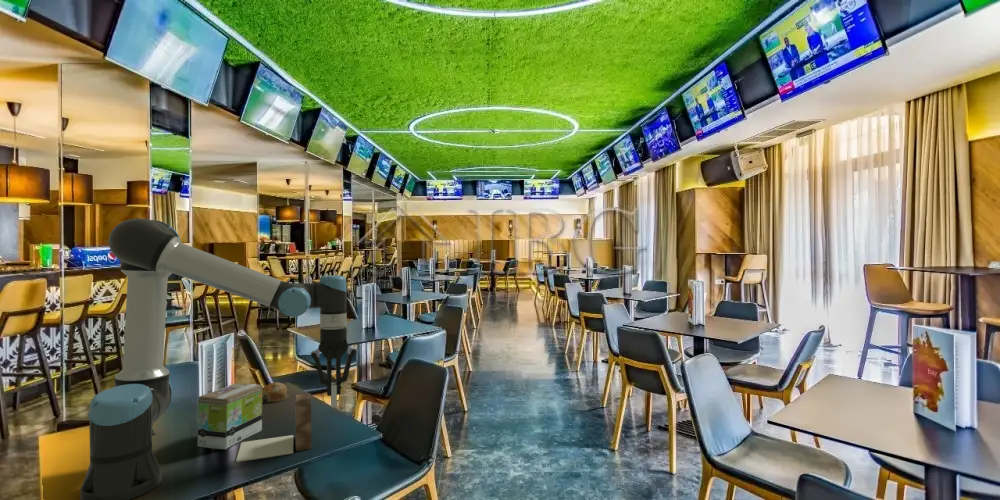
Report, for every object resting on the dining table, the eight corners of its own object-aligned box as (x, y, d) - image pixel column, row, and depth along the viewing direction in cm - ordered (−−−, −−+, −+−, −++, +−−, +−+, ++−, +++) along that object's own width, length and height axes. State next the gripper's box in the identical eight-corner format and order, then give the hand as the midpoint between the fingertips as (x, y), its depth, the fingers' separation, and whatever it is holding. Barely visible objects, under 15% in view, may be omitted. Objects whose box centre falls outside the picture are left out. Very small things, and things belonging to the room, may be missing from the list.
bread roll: (285, 411, 179) (294, 390, 180) (257, 403, 174) (267, 382, 175) (281, 403, 187) (290, 383, 189) (254, 396, 182) (264, 375, 184)
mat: (235, 462, 128) (235, 460, 128) (241, 443, 140) (241, 442, 140) (293, 453, 134) (293, 452, 134) (293, 436, 146) (293, 434, 146)
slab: (295, 451, 135) (295, 405, 135) (295, 437, 144) (295, 394, 144) (311, 448, 137) (311, 403, 137) (310, 435, 146) (310, 393, 146)
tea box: (227, 450, 136) (226, 398, 135) (196, 447, 138) (196, 396, 137) (263, 430, 150) (263, 383, 150) (235, 428, 152) (235, 381, 152)
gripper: (310, 330, 138) (310, 412, 138) (357, 327, 143) (357, 406, 143) (309, 326, 144) (310, 404, 145) (354, 323, 149) (355, 399, 150)
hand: (333, 405), depth 144 cm, fingers closed
